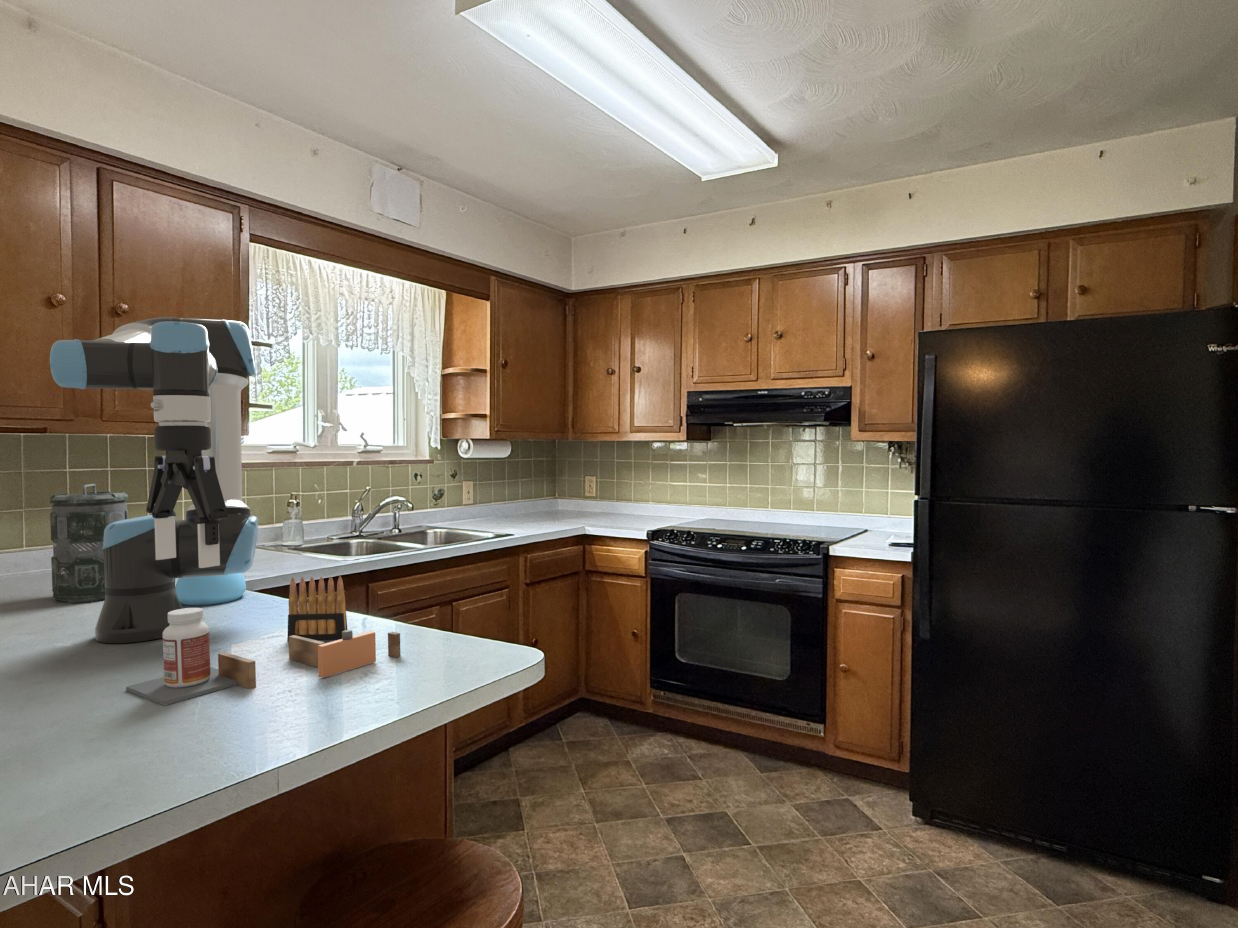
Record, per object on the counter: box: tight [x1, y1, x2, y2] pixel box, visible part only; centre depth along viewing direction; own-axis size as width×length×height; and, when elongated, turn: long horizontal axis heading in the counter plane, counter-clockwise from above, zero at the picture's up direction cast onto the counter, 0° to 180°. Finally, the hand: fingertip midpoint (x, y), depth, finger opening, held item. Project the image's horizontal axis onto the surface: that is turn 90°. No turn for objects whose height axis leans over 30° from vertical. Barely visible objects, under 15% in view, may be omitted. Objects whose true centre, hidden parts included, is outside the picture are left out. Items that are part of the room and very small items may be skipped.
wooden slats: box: [217, 631, 401, 689], centre depth 121 cm, size 15×24×4 cm, turn 146°
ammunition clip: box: [287, 575, 348, 643], centre depth 138 cm, size 11×2×12 cm, turn 93°
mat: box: [125, 666, 238, 706], centre depth 112 cm, size 12×12×1 cm
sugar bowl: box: [175, 573, 247, 606], centre depth 175 cm, size 15×15×12 cm
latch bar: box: [317, 629, 377, 679], centre depth 119 cm, size 2×10×6 cm, turn 146°
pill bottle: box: [162, 607, 211, 688], centre depth 112 cm, size 6×6×11 cm
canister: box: [49, 483, 130, 604], centre depth 180 cm, size 16×16×28 cm
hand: (187, 562), depth 112 cm, fingers open, 13 cm apart
